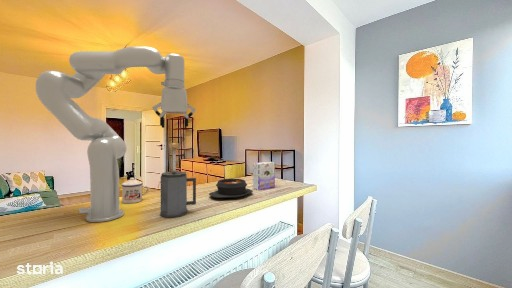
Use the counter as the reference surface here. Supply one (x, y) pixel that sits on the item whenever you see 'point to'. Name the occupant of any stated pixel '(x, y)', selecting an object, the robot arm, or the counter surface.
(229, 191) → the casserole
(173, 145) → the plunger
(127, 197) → the teacup with lid
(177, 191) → the coffee press
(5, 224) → the counter surface
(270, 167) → the candy box
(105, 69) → the robot arm
